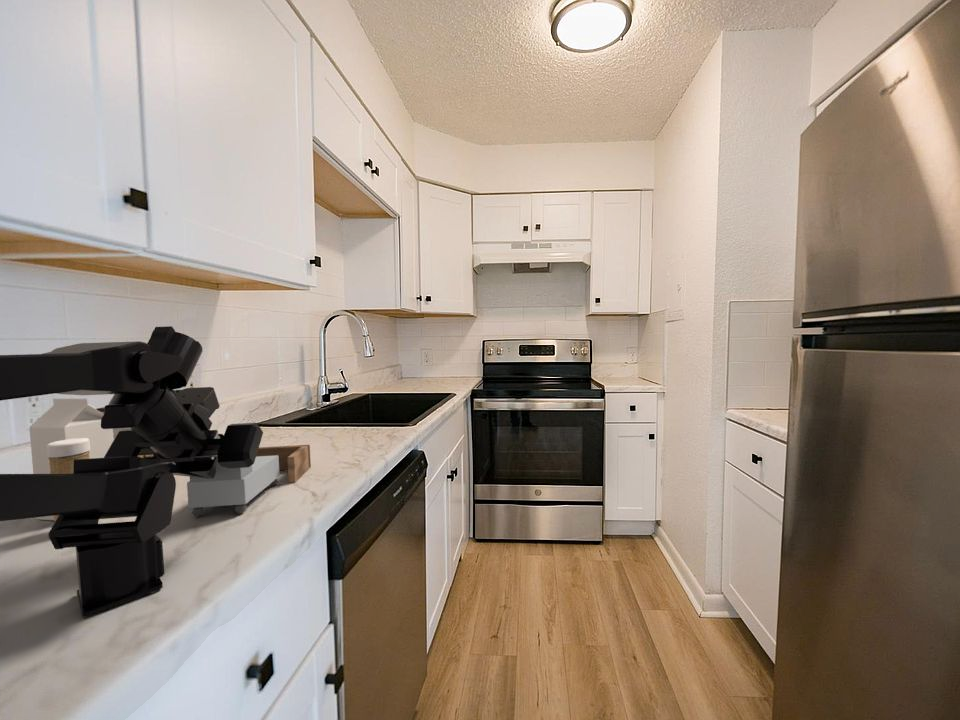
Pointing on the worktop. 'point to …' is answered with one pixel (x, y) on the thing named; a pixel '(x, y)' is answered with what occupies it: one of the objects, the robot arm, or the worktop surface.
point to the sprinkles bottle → (66, 455)
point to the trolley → (232, 485)
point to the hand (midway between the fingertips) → (212, 475)
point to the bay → (290, 459)
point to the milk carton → (67, 432)
